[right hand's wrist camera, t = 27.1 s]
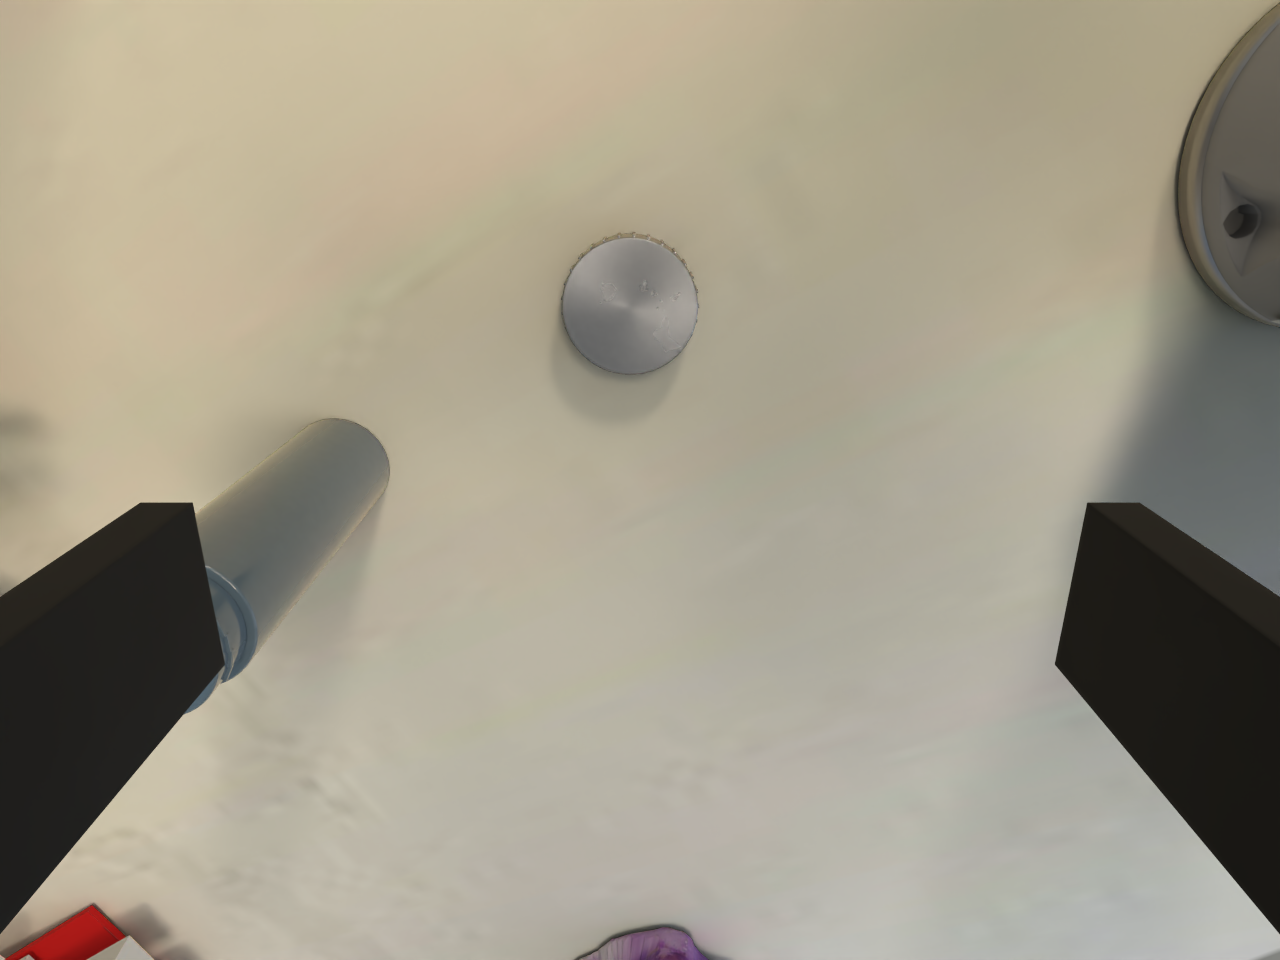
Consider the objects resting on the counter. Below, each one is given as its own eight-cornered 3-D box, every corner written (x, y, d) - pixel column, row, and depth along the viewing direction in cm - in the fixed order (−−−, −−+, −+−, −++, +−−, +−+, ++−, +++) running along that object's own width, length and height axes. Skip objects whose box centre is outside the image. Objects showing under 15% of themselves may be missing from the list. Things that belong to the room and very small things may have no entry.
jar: (394, 428, 41) (230, 603, 25) (385, 518, 43) (226, 738, 26) (293, 409, 41) (58, 574, 24) (288, 501, 42) (65, 713, 26)
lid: (548, 341, 40) (543, 351, 37) (587, 212, 38) (584, 215, 35) (670, 382, 40) (672, 394, 38) (715, 257, 38) (719, 263, 36)
